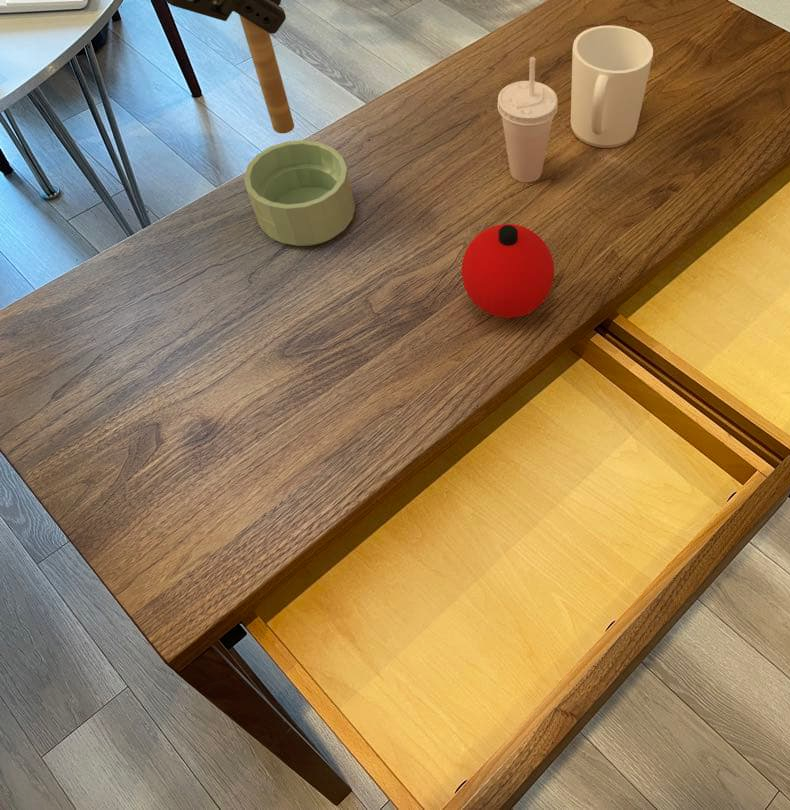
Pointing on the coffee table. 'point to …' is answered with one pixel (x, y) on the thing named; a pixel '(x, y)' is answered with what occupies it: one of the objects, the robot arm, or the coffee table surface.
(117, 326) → the coffee table surface
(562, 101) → the coffee table surface
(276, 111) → the stick
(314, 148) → the bowl
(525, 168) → the smoothie
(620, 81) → the mug
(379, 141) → the coffee table surface
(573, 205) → the coffee table surface
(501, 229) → the ornament
